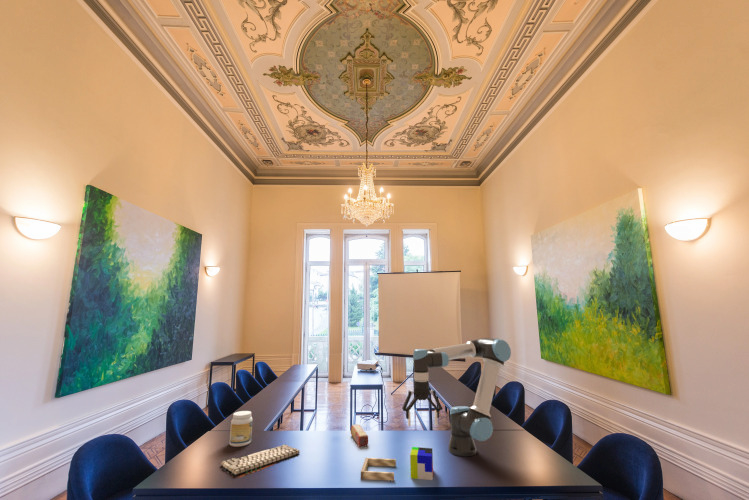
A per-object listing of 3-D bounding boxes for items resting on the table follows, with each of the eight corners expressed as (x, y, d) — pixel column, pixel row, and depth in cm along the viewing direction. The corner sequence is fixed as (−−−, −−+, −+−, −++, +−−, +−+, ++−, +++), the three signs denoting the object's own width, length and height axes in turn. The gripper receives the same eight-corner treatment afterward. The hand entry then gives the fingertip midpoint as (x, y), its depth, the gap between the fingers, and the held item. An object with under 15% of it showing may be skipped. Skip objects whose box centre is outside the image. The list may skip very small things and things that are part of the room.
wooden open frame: (395, 465, 168) (395, 459, 169) (393, 480, 153) (393, 473, 153) (365, 464, 170) (365, 457, 171) (360, 478, 155) (360, 471, 155)
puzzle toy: (432, 480, 153) (431, 456, 155) (410, 478, 155) (410, 454, 157) (433, 470, 163) (432, 448, 165) (412, 469, 165) (412, 446, 167)
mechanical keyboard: (283, 447, 194) (283, 441, 195) (302, 456, 182) (302, 449, 183) (217, 469, 167) (218, 461, 168) (235, 481, 155) (235, 473, 155)
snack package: (368, 446, 194) (368, 434, 195) (357, 447, 192) (357, 435, 194) (360, 434, 214) (360, 423, 215) (350, 435, 212) (350, 424, 214)
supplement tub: (253, 444, 197) (255, 413, 201) (231, 449, 190) (234, 417, 194) (248, 438, 207) (250, 409, 210) (227, 442, 200) (229, 412, 204)
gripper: (443, 378, 176) (445, 422, 172) (396, 379, 174) (397, 423, 170) (447, 381, 168) (449, 426, 164) (398, 382, 167) (399, 428, 163)
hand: (422, 425), depth 167 cm, fingers open, 13 cm apart
